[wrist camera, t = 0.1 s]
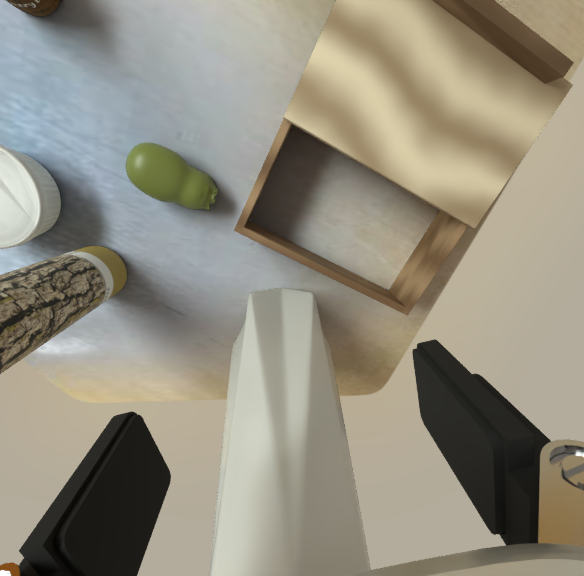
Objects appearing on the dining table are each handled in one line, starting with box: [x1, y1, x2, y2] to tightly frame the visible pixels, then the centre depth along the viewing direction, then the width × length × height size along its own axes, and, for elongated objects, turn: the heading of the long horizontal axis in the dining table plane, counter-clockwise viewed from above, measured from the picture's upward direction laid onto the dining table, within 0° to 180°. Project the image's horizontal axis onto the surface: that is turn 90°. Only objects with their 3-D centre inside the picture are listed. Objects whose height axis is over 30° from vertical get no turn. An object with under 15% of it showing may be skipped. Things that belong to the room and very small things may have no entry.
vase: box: [209, 288, 371, 576], centre depth 28 cm, size 12×12×33 cm
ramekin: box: [0, 145, 61, 249], centre depth 34 cm, size 11×11×5 cm
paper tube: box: [0, 246, 127, 374], centre depth 28 cm, size 7×7×25 cm
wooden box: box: [234, 120, 468, 315], centre depth 34 cm, size 27×23×6 cm
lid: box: [284, 0, 574, 229], centre depth 28 cm, size 15×23×3 cm, turn 63°
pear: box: [126, 143, 219, 211], centre depth 35 cm, size 6×5×10 cm
